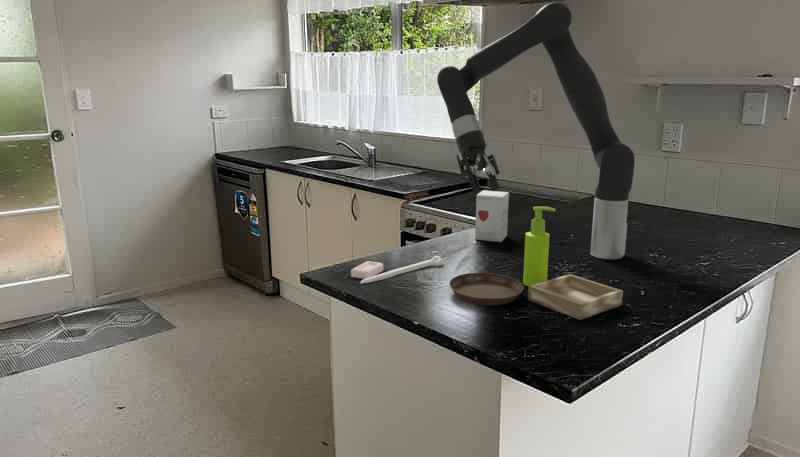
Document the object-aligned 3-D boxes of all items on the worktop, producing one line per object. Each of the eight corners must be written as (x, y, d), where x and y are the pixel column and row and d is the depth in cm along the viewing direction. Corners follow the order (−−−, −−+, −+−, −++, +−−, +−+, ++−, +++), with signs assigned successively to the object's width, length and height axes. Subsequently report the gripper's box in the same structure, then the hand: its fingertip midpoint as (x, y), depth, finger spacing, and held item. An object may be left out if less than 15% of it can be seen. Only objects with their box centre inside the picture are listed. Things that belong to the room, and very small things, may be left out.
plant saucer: (536, 304, 139) (537, 292, 138) (465, 313, 134) (466, 300, 133) (502, 281, 155) (503, 269, 154) (438, 287, 150) (438, 276, 150)
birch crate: (569, 287, 149) (569, 274, 149) (621, 304, 138) (623, 290, 137) (527, 300, 141) (528, 285, 140) (580, 320, 129) (581, 304, 128)
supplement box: (474, 239, 194) (475, 194, 190) (481, 233, 202) (482, 189, 199) (501, 242, 191) (503, 196, 187) (507, 235, 199) (509, 191, 195)
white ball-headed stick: (367, 288, 150) (367, 277, 149) (357, 284, 153) (357, 273, 152) (446, 266, 168) (446, 256, 167) (436, 263, 171) (436, 253, 170)
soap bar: (350, 277, 158) (350, 269, 157) (367, 268, 166) (366, 260, 165) (367, 280, 156) (367, 272, 155) (384, 271, 164) (384, 262, 163)
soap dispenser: (551, 288, 148) (556, 210, 144) (523, 286, 150) (526, 209, 145) (550, 281, 154) (555, 205, 149) (523, 279, 155) (526, 204, 151)
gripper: (462, 126, 156) (481, 183, 152) (494, 131, 166) (512, 185, 163) (442, 139, 161) (459, 195, 157) (474, 143, 171) (491, 195, 168)
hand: (486, 189), depth 160 cm, fingers open, 8 cm apart
